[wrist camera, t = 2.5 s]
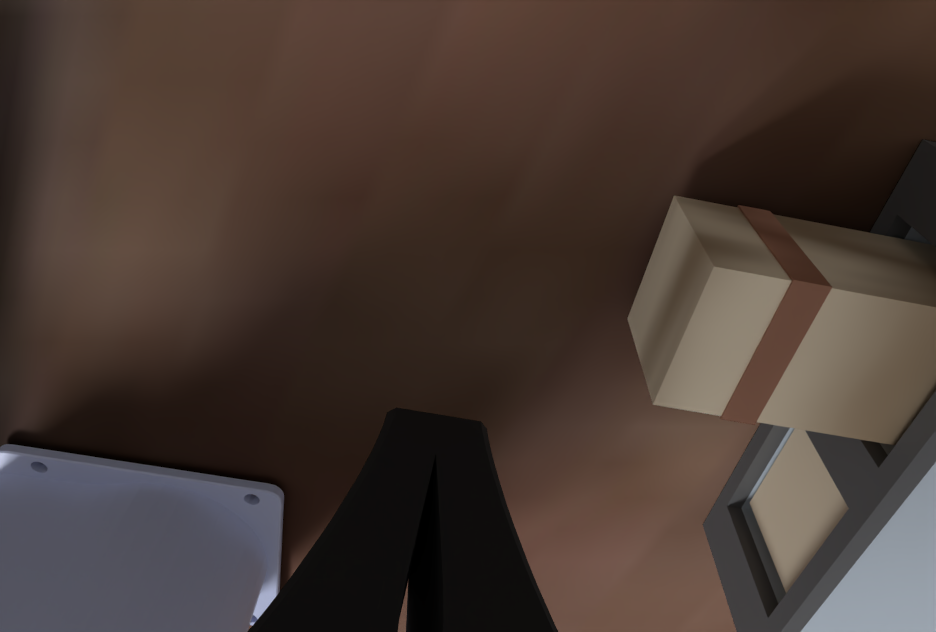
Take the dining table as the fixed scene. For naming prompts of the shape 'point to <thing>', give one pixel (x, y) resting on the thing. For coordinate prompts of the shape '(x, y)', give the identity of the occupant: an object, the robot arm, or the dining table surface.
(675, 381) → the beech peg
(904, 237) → the block
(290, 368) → the dining table surface
